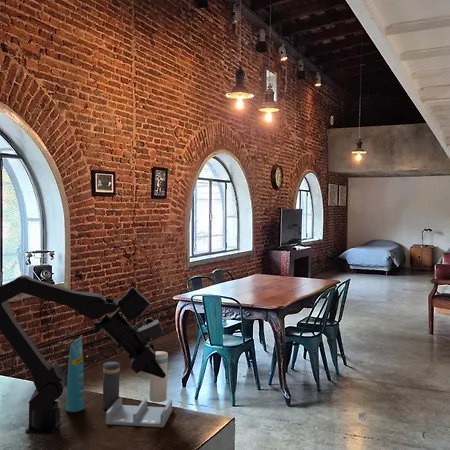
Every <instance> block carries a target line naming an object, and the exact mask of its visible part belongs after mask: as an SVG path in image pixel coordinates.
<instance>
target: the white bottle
mask: <svg viewBox="0 0 450 450" xmlns="http://www.w3.org/2000/svg"><path fill="white" fill-rule="evenodd" d="M155 353H156V356H155V360H156V361H157V362H158V364H159V365H160V367H161V368H162V370H163V371H164V373H165V374H166V376H165V377H164V378H161V377H158V376H155V375H152V374H149V401H150V402H153V403H163V402H165V401H167V399H168V398H167V394H168V393H167V391H168V389H167V388H168V362H169V354H168V352H167V351H162V350H159V351H158V350H155Z"/></svg>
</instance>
